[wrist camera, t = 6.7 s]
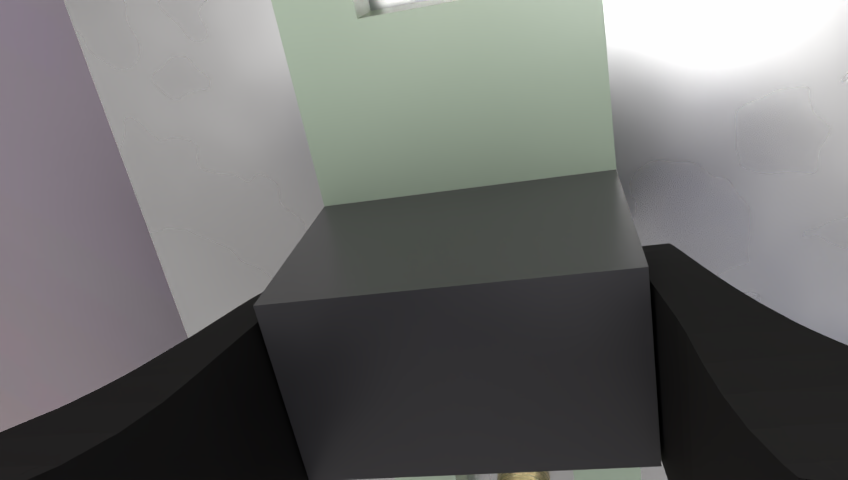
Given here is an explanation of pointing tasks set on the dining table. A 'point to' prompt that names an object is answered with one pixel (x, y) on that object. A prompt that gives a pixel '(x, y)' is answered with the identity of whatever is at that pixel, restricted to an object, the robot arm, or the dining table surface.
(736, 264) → the chassis
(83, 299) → the dining table surface
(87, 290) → the dining table surface
